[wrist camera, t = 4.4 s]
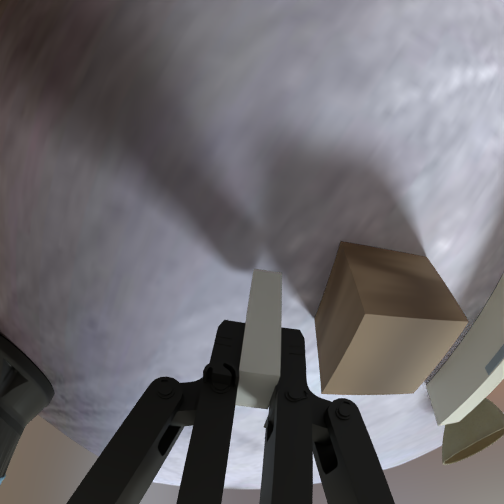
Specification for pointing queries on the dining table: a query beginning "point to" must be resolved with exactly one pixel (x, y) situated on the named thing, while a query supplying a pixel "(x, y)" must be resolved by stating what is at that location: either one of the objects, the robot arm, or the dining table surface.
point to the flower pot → (472, 432)
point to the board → (471, 365)
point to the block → (383, 322)
